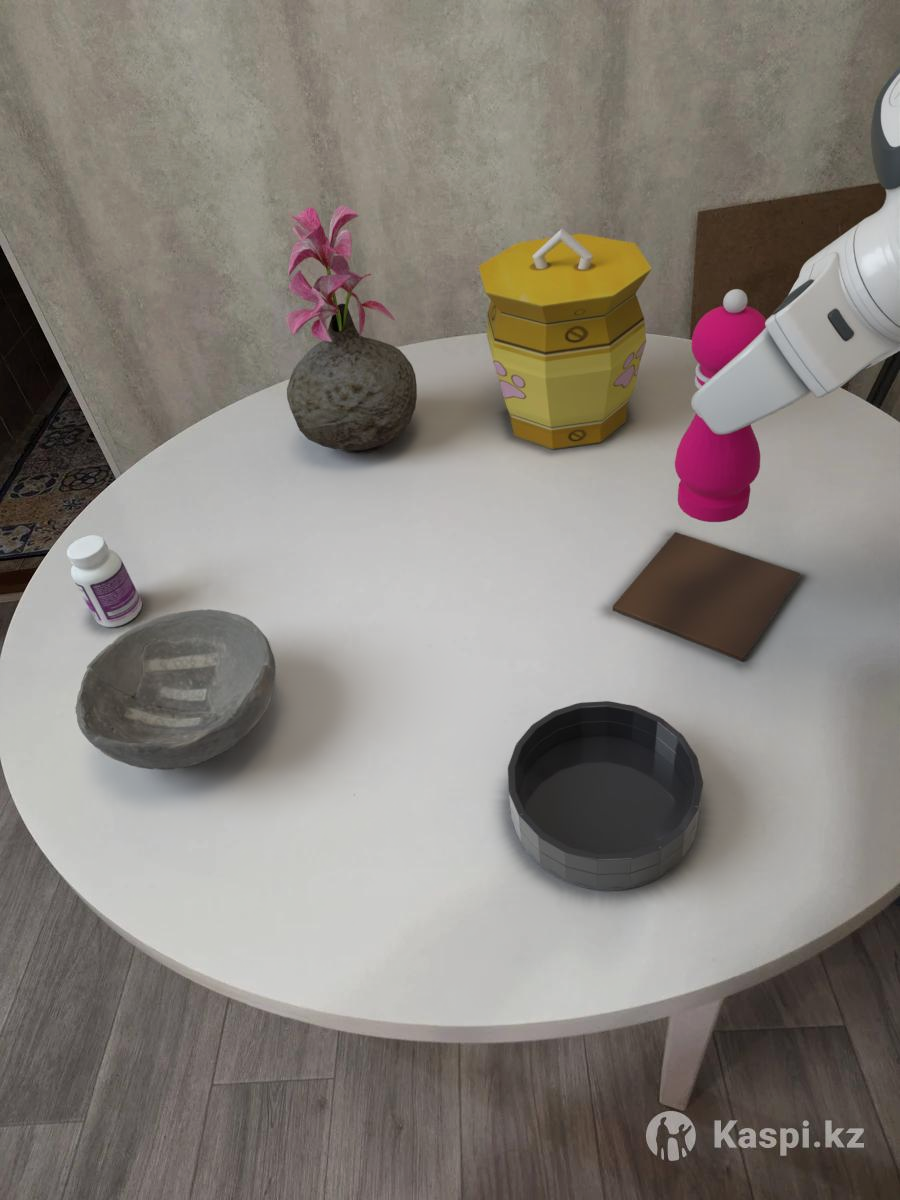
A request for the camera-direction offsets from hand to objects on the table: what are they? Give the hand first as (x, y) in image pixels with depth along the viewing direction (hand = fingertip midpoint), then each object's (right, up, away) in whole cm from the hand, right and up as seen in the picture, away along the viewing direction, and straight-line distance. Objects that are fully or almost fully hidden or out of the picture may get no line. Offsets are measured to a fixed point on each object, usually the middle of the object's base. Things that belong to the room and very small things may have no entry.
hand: (718, 390), depth 72 cm
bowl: (-47, -30, +12) cm, 57 cm away
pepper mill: (+2, -9, +7) cm, 12 cm away
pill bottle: (-60, -19, +26) cm, 68 cm away
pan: (-10, -35, 0) cm, 36 cm away
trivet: (+4, -17, +17) cm, 24 cm away
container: (-6, +7, +46) cm, 47 cm away
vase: (-34, +5, +48) cm, 59 cm away
